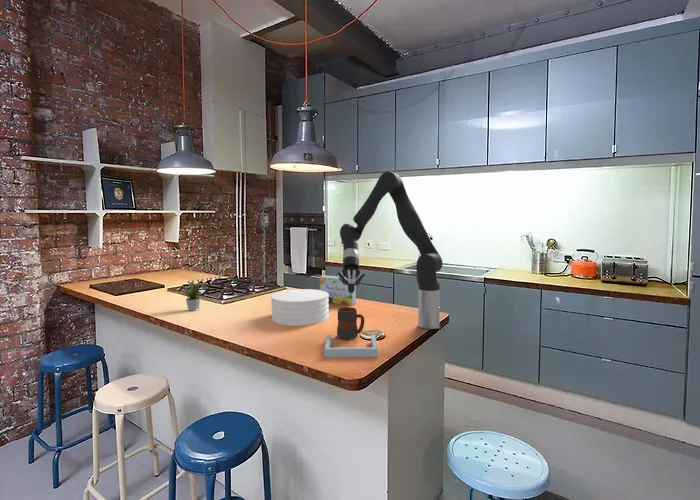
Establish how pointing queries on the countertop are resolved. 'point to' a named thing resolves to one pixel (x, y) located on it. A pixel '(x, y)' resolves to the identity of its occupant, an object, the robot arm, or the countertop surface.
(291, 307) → the plate stack
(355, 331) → the mug
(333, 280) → the snack box
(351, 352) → the dock bay
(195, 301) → the house plant
